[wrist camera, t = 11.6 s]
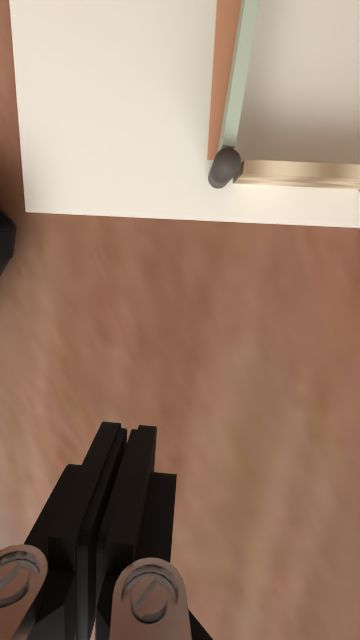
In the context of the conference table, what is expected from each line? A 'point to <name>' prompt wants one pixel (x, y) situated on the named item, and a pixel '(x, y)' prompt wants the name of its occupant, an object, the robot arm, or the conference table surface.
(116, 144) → the card
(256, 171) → the fixed fence section
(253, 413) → the conference table surface
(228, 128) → the folding fence panel
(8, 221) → the portable speaker
